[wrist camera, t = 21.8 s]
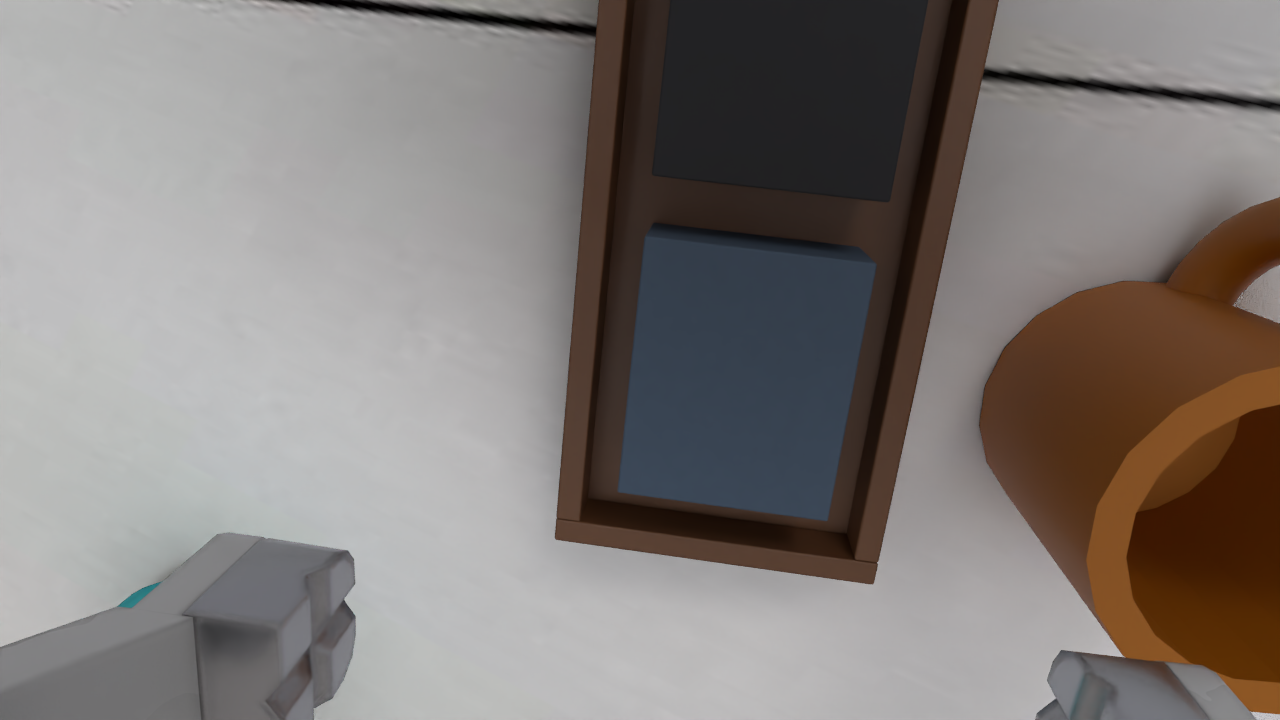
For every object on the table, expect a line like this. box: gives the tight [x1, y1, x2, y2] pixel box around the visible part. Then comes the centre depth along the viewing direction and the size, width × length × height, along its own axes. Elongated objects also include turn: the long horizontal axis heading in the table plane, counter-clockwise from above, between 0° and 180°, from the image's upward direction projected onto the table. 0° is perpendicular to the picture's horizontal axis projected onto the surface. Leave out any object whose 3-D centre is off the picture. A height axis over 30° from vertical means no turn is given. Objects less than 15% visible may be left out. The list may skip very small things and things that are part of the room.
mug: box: [979, 197, 1280, 714], centre depth 22 cm, size 9×12×9 cm
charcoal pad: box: [652, 0, 928, 202], centre depth 23 cm, size 8×6×3 cm
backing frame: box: [555, 0, 999, 584], centre depth 25 cm, size 22×11×2 cm, turn 174°
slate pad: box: [618, 223, 877, 521], centre depth 26 cm, size 8×6×3 cm
